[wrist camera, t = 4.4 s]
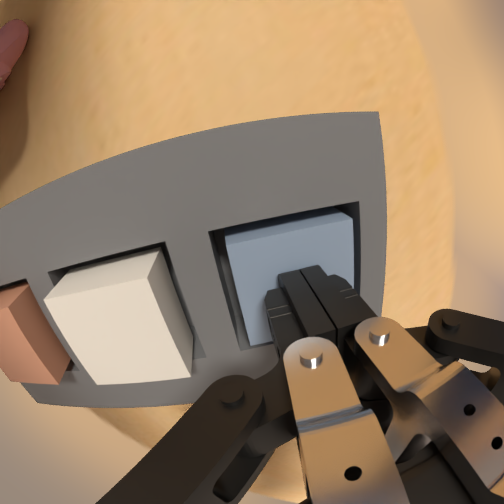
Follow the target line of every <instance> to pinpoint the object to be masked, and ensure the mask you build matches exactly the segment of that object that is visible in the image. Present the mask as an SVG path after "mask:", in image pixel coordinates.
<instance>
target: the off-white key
mask: <svg viewBox="0 0 504 504" xmlns="http://www.w3.org/2000/svg"><path fill="white" fill-rule="evenodd" d="M44 302H45V304H46V306H47V308H48V310H49V311H50V313H51V315H52V317H53V319H54V321H55V322H56V324H57V326H58V327H59V329H60V331H61V333H62V334H63V336H64V338H65V339H66V341H67V342H68V344H69V346H70V347H71V349H72V350H73V352H74V353H75V355H76V356H77V358H78V359H79V361H80V362H81V364H82V365H83V366H84V368H85V369H86V371H87V372H88V373H89V375H90V376H91V377H92V379H93V380H94V381H95V383H96V384H97V385H107V384H127V383H141V382H153V381H162V380H171V379H180V378H187V377H191V369H192V349H193V335H192V332H191V330H190V327H189V325H188V322H187V320H186V317H185V315H184V312H183V309H182V307H181V304H180V301H179V298H178V296H177V293H176V290H175V287H174V285H173V282H172V279H171V276H170V273H169V270H168V267H167V264H166V261H165V258H164V255H163V252H162V249H161V247H159V248H154V249H150V250H146V251H142V252H138V253H134V254H130V255H126V256H122V257H118V258H114V259H110V260H106V261H102V262H98V263H94V264H90V265H86V266H82V267H79V268H75V269H71V270H69V271H68V272H67V274H66V275H65V276H64V277H63V278H62V279H61V280H60V281H59V282H58V284H57V285H56V286H55V287H54V288H53V289H52V290H51V292H50V293H49V294H48V295H47V296H46V297H45V299H44Z"/></svg>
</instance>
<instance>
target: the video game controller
mask: <svg viewBox="0 0 504 504" xmlns="http://www.w3.org/2000/svg"><path fill="white" fill-rule="evenodd" d="M28 34H29V31H28V26H27V25H26V23H24V22H23V21H22V20H19V19H14V20H11V21H9V22H7V23H6V24H5V25H4V26H3V27H2V28H1V29H0V90H1V89H2V88H3V87H4V85H5V80H6V79H7V77H8V76H9V75H10V73H11V69H12V68H13V66H14V65H15V63H16V62H17V60H18V59H19V57H20V56H21V54H22V52H23V50H24V48H25V45H26V42H27V39H28Z"/></svg>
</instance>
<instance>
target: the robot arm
mask: <svg viewBox="0 0 504 504" xmlns="http://www.w3.org/2000/svg"><path fill="white" fill-rule="evenodd" d="M278 281H279V288H276V289H272V290H267V293H266V296H265V299H264V302H265V307H266V312H267V318H268V323H269V328H270V333H271V336H272V340H273V343H274V346H275V350H276V353H277V356H278V360H279V361H278V363H277V364H276V366H275V367H274V368H273V369H272V370H271V371H269V372H268V373H266V374H265V375H263V376H261V377H259V378H257V379H255V380H254V379H252V378H250V377H248V376H244V375H229V376H225V377H222V378H220V379H218V380H216V381H215V382H213V383H212V384H211V385H210V386H209V387H208V388H207V389H206V390H205V391H204V393H203V394H202V395H201V396H200V397H199V398H198V399H197V401H196V402H195V403H194V404H193V405H192V406H191V407H190V408H189V410H188V411H187V412H186V413H185V414H184V415H183V416H182V417H181V418H180V419H179V421H178V422H177V423H176V424H175V425H174V426H173V427H172V428H171V429H170V430H169V431H168V432H167V434H166V435H165V436H164V437H163V438H162V439H161V440H160V441H159V442H158V443H157V444H156V445H155V446H154V447H153V448H152V449H151V450H150V451H149V452H148V454H146V455H145V457H143V458H142V460H141V461H140V462H139V463H138V464H137V465H136V466H135V467H134V468H132V470H130V472H128V473H127V475H125V476H124V477H123V478H122V479H121V480H120V481H119V482H118V483H117V484H116V485H115V486H114V487H113V488H112V489H111V490H110V491H109V492H108V493H106V494H105V495H104V496H103V497H102V498H101V499H100V500H99V501H98V502H96V504H238V503H239V502H240V500H241V499H242V498H243V496H244V495H245V494H246V492H247V491H248V490H249V488H250V487H251V485H252V484H253V483H254V481H255V480H256V478H257V477H258V475H259V474H260V472H261V471H262V470H263V468H264V467H265V465H266V463H267V462H268V460H269V459H270V457H271V456H272V454H273V453H274V451H275V448H277V447H279V446H281V445H282V444H284V443H286V442H288V441H290V440H291V439H293V438H295V437H296V440H297V445H298V451H299V456H300V461H301V467H302V473H303V479H304V485H305V490H306V496H307V499H305V500H304V501H302V502H301V503H299V504H504V322H502V321H498V320H494V319H489V318H485V317H481V316H477V315H473V314H469V313H465V312H461V311H457V310H452V309H441V310H438V311H436V312H434V313H433V314H432V315H431V316H430V318H429V322H428V326H422V327H415V328H405V329H404V328H403V327H402V326H401V325H400V324H399V323H397V322H396V321H394V320H392V319H389V318H385V317H378V316H377V315H376V314H375V313H374V311H373V310H372V309H371V308H370V307H369V306H368V304H367V303H366V302H365V301H364V300H363V299H362V297H361V296H360V295H358V293H357V292H356V290H355V289H353V288H352V286H351V285H350V284H349V283H348V281H347V280H346V279H344V278H342V277H340V276H338V275H336V274H333V275H329V276H327V274H326V273H325V272H324V271H323V269H322V268H321V267H320V266H319V265H314V266H310V267H306V268H301V269H299V270H298V269H297V270H293V271H289V272H284V273H280V274H278ZM459 359H464V360H467V361H471V362H475V363H479V364H482V365H486V366H490V367H491V369H490V370H489V371H487V372H485V373H480V372H476V371H472V370H469V369H468V368H467V367H465V366H464V365H463V364H462V363H460V362H458V360H459Z"/></svg>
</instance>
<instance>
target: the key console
mask: <svg viewBox="0 0 504 504" xmlns="http://www.w3.org/2000/svg"><path fill="white" fill-rule="evenodd" d="M328 206H332V207H334V208H336V209H337V210H339V211H341V212H342V213H344V214H346V215H347V216H349V217H351V218H352V219H353V242H354V289H355V290H356V292H357V293H358V295H360V296H361V297H362V299H363V300H364V301H365V302H366V303H367V304H368V306H369V307H370V308H371V309H372V310H373V311H374V313H375V314H376V315H377V316H378V317H381V313H382V303H383V293H384V281H385V266H386V241H387V204H386V179H385V164H384V153H383V143H382V134H381V126H380V119H379V112H339V113H322V114H309V115H298V116H289V117H280V118H273V119H265V120H259V121H252V122H246V123H240V124H235V125H229V126H224V127H219V128H214V129H210V130H205V131H200V132H196V133H192V134H188V135H184V136H180V137H176V138H172V139H168V140H165V141H161V142H158V143H154V144H151V145H147V146H144V147H141V148H138V149H135V150H131V151H128V152H125V153H122V154H120V155H117V156H114V157H111V158H108V159H105V160H103V161H100V162H97V163H95V164H92V165H90V166H87V167H85V168H82V169H80V170H77V171H75V172H73V173H70V174H68V175H66V176H63V177H61V178H59V179H57V180H54V181H52V182H50V183H48V184H46V185H44V186H42V187H40V188H38V189H36V190H34V191H32V192H30V193H28V194H26V195H24V196H22V197H20V198H18V199H17V200H15V201H13V202H11V203H9V204H8V205H6V206H4V207H2V208H1V209H0V289H3V288H7V287H10V286H13V285H17V284H20V283H24V282H27V281H28V283H29V286H30V288H31V290H32V292H33V294H34V296H35V298H36V300H37V302H38V304H39V306H40V308H41V309H42V311H43V313H44V315H45V317H46V319H47V320H48V322H49V324H50V326H51V327H52V329H53V331H54V332H55V334H56V336H57V337H58V339H59V341H60V342H61V344H62V345H63V347H64V348H65V350H66V351H67V353H68V354H69V356H70V357H71V360H70V362H69V364H68V366H67V368H66V370H65V372H64V375H63V377H62V379H61V381H60V383H59V385H55V384H36V383H23V382H20V383H21V384H22V385H23V386H24V388H25V389H26V390H27V391H28V392H29V394H30V395H31V396H32V397H33V398H34V399H35V401H36V402H37V403H42V404H50V405H61V406H73V407H93V408H135V407H156V406H169V405H180V404H190V403H195V402H196V401H197V399H198V398H199V397H200V396H201V395H202V394H203V393H204V391H205V390H206V389H207V388H208V387H209V386H210V385H211V384H212V383H213V382H215V381H216V380H218V379H220V378H222V377H225V376H229V375H244V376H248V377H250V378H252V379H254V380H255V379H257V378H259V377H261V376H263V375H265V374H266V373H268V372H269V371H271V370H272V369H273V368H274V367H275V366H276V364H277V363H278V361H279V360H278V356H277V353H276V350H275V346H274V343H273V341H270V342H266V343H261V344H257V345H252V346H251V345H250V341H249V338H248V334H247V330H246V326H245V322H244V318H243V314H242V310H241V306H240V302H239V298H238V294H237V290H236V285H235V281H234V277H233V273H232V269H231V265H230V260H229V256H228V252H227V248H226V241H225V233H224V228H225V227H229V226H234V225H239V224H243V223H248V222H253V221H258V220H262V219H267V218H272V217H277V216H282V215H287V214H292V213H297V212H302V211H307V210H312V209H318V208H323V207H328ZM159 247H161V249H162V252H163V255H164V258H165V261H166V264H167V267H168V270H169V273H170V276H171V279H172V282H173V285H174V287H175V290H176V293H177V296H178V298H179V301H180V304H181V307H182V309H183V312H184V315H185V317H186V320H187V322H188V325H189V327H190V330H191V332H192V335H193V349H192V369H191V377H187V378H180V379H171V380H162V381H153V382H141V383H127V384H107V385H97V384H96V383H95V381H94V380H93V379H92V377H91V376H90V375H89V373H88V372H87V371H86V369H85V368H84V366H83V365H82V364H81V362H80V361H79V359H78V358H77V356H76V355H75V353H74V352H73V350H72V349H71V347H70V346H69V344H68V342H67V341H66V339H65V338H64V336H63V334H62V333H61V331H60V329H59V327H58V326H57V324H56V322H55V321H54V319H53V317H52V315H51V313H50V311H49V310H48V308H47V306H46V304H45V302H44V299H45V297H46V296H47V295H48V294H49V293H50V292H51V290H52V289H53V288H54V287H55V286H56V285H57V284H58V282H59V281H60V280H61V279H62V278H63V277H64V276H65V275H66V274H67V272H68V271H69V270H71V269H75V268H79V267H82V266H86V265H90V264H94V263H98V262H102V261H106V260H110V259H114V258H118V257H122V256H126V255H130V254H134V253H138V252H142V251H146V250H150V249H154V248H159Z"/></svg>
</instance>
